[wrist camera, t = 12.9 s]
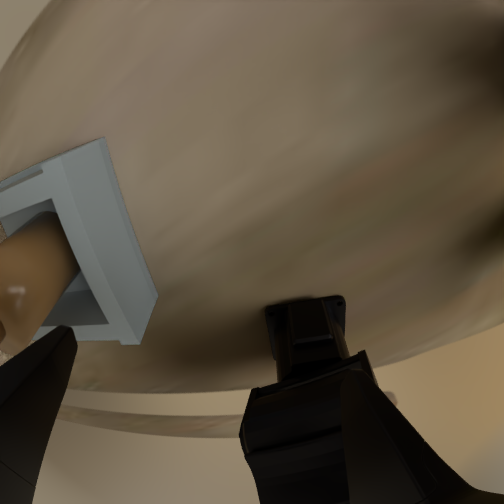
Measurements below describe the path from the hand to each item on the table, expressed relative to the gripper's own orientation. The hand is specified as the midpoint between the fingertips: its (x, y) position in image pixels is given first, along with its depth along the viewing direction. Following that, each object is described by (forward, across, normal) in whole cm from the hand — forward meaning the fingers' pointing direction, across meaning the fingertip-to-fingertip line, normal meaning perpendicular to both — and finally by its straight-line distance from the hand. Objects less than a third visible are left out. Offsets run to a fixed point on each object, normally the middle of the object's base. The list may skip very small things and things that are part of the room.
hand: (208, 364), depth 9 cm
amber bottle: (+12, +14, +5) cm, 19 cm away
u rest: (+13, +14, +5) cm, 19 cm away
